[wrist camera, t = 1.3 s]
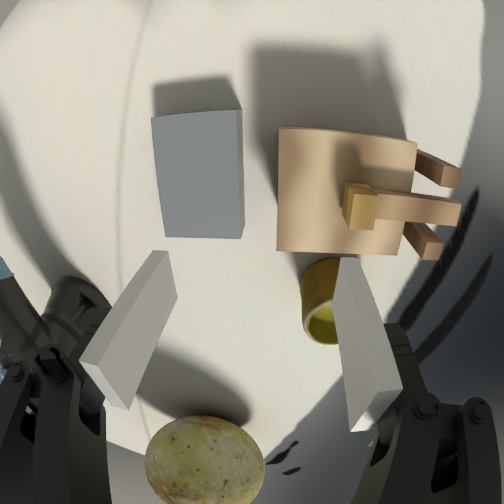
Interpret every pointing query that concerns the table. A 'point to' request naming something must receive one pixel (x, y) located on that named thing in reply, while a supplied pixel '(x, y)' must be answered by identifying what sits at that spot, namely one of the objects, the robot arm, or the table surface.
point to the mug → (320, 301)
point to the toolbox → (420, 233)
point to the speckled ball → (204, 462)
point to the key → (395, 207)
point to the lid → (337, 188)
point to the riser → (200, 173)
